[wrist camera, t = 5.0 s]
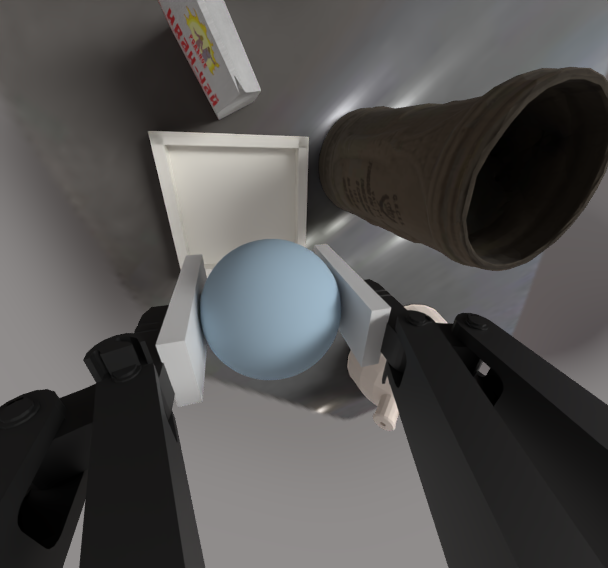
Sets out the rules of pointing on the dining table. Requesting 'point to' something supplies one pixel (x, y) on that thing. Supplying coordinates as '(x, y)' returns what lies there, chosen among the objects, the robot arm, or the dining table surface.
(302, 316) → the ball
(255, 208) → the tray
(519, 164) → the beer stein
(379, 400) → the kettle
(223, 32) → the white cardboard box
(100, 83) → the dining table surface
